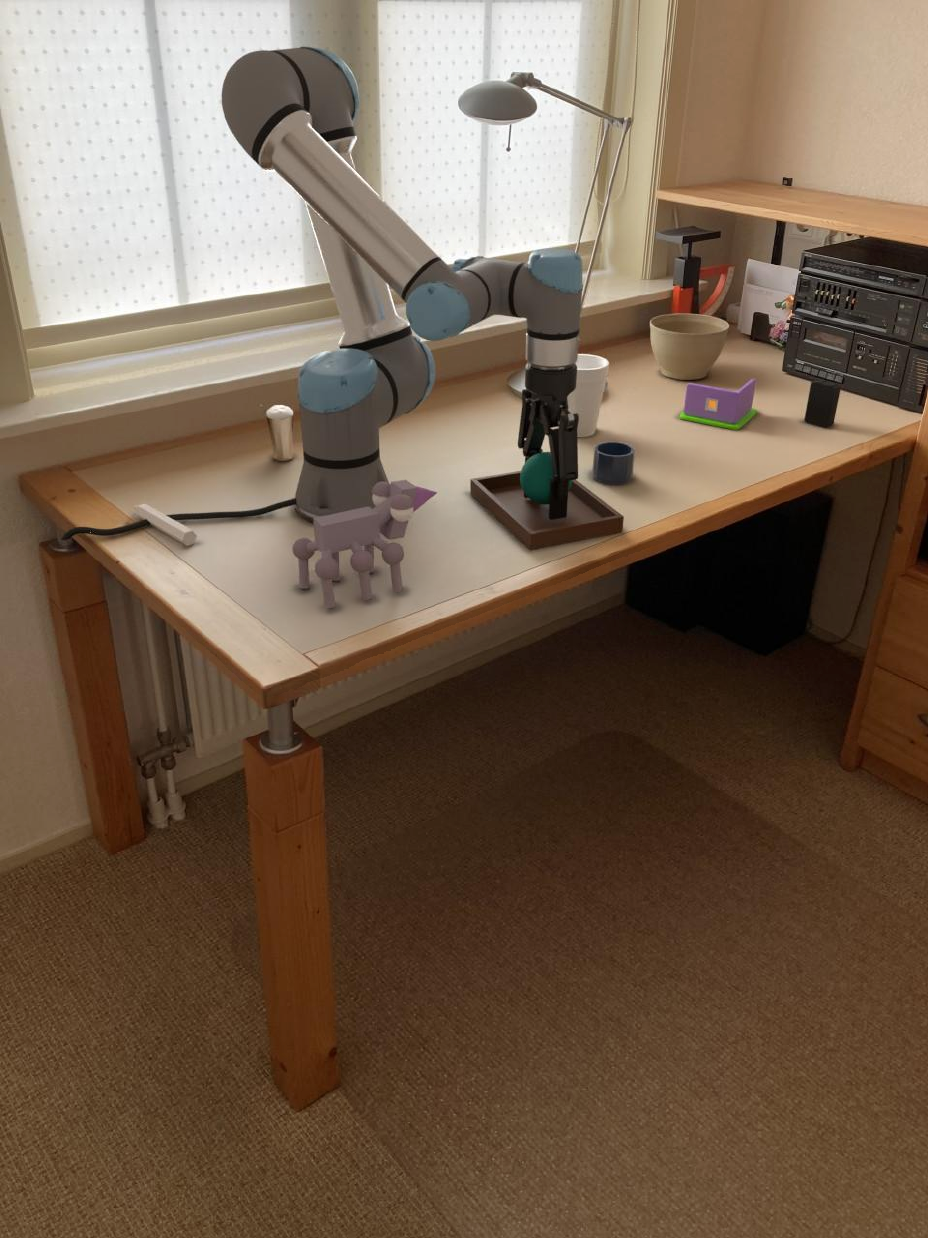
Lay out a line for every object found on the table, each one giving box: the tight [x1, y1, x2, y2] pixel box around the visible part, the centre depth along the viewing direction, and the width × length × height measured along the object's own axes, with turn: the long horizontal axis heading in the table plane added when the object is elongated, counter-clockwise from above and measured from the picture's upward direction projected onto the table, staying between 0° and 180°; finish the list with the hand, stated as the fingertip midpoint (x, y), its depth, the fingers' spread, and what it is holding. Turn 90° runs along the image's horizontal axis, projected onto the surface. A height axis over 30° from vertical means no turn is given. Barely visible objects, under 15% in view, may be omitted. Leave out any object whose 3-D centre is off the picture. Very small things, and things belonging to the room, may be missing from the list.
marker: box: [133, 502, 198, 547], centre depth 159 cm, size 3×2×16 cm
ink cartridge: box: [803, 379, 842, 429], centre depth 198 cm, size 5×2×8 cm, turn 44°
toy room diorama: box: [679, 378, 758, 431], centre depth 202 cm, size 12×12×7 cm
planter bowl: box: [649, 313, 730, 381], centre depth 222 cm, size 16×16×11 cm
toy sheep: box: [291, 479, 438, 609], centre depth 142 cm, size 20×11×14 cm, turn 119°
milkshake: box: [260, 404, 294, 462], centre depth 181 cm, size 5×5×10 cm
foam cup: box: [567, 353, 610, 438], centre depth 192 cm, size 10×9×13 cm
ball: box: [520, 451, 572, 505], centre depth 162 cm, size 8×8×8 cm
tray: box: [469, 470, 625, 551], centre depth 165 cm, size 16×22×3 cm
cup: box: [592, 441, 636, 486], centre depth 176 cm, size 7×7×5 cm
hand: (544, 506), depth 165 cm, fingers closed on ball, 8 cm apart
